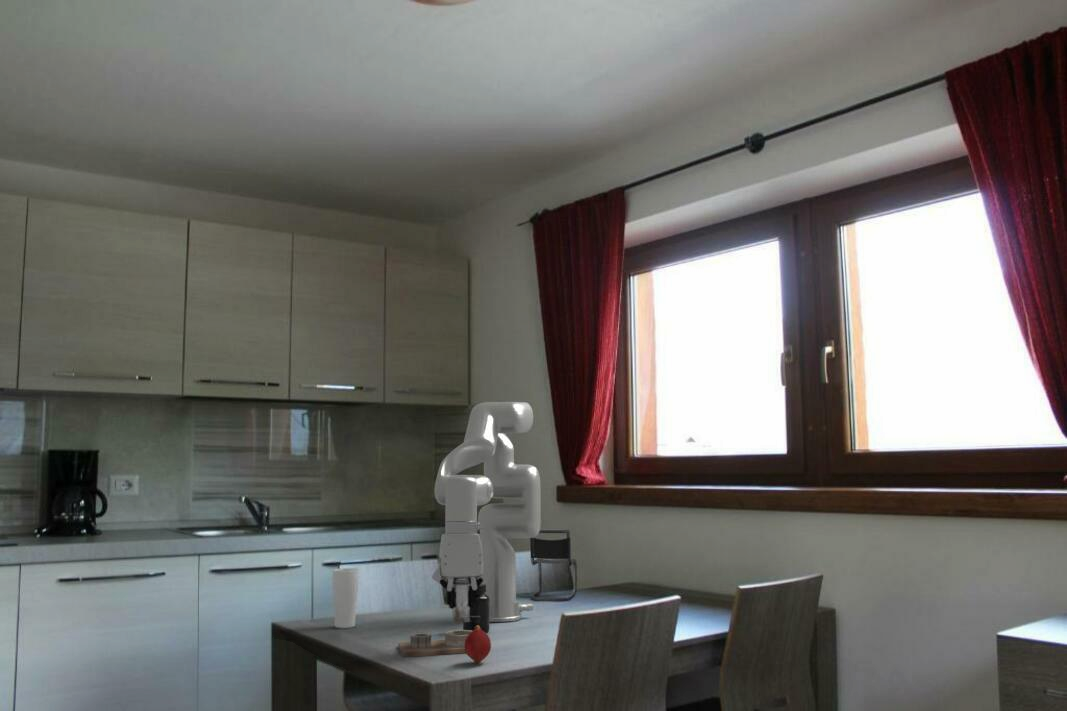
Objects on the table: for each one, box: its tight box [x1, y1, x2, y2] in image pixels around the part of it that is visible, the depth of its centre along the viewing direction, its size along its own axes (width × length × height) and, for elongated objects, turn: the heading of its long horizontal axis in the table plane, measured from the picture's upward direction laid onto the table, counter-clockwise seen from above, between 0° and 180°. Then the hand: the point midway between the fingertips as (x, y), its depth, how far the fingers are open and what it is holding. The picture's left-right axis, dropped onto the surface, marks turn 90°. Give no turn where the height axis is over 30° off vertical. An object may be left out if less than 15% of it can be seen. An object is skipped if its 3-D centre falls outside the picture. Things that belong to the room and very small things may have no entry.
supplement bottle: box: [462, 583, 491, 634], centre depth 239 cm, size 7×7×12 cm
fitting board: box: [397, 629, 472, 658], centre depth 217 cm, size 19×12×4 cm, turn 105°
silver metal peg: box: [452, 577, 470, 624], centre depth 219 cm, size 4×4×10 cm
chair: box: [529, 529, 578, 602], centre depth 299 cm, size 13×17×22 cm
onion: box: [464, 626, 492, 664], centre depth 202 cm, size 6×6×8 cm
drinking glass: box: [332, 567, 359, 629], centre depth 248 cm, size 7×7×15 cm
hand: (461, 606), depth 219 cm, fingers closed on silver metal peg, 4 cm apart
